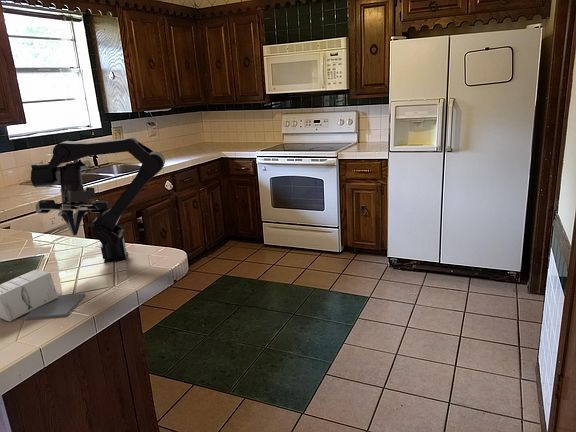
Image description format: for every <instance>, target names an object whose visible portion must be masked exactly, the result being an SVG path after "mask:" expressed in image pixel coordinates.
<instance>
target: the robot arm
mask: <svg viewBox="0 0 576 432" xmlns="http://www.w3.org/2000/svg"><path fill="white" fill-rule="evenodd" d="M117 153H118V154H119V153H129V154H130V155H131V156H133V158H135V160H137V161H139V162H140V163H141V166H140V167H139V170H138V172H137V173H136V176H135V177H134V178H133V179H132V181H130V184H129V185H128V186H127V187H126V188H125V190H124V191H123V193H121V195H120V197H119V198H118V199H117V200H116V202H115V203H114V204H113V205H112V206H111V207H110V208H109V203H108V201H107V200H102V199H99V200H92V201H91V202H89V199H95V197H96V190H95V187H92V186H91V187H90V186H89V187H86V188H85V189H84V184H82V183H83V181H82V179H83V178H82V170H88V169H89V166H88V165H86V163H84V162H83V161H82V160H81V159H84V158H86V157H90V156H101V155H108V154H109V155H110V154H117ZM77 160H78V161H77ZM73 161H75V162H73ZM63 164H65V165H63ZM165 164H166V158H165V156H164V155H163V154H162V153H161V152H159V151H154V150H153V149H151V148H149V147H147V146H146V145H144V144H143V143H141V142H140V141H139V140H137V139H136V138H135V137H128V138H121V139H113V140H112V139H111V140H103V141H94V142H84V141H76V140H75V141H74V140H73V141H72V140H65V141H62V142H60V143H57V144H55V146H54V147H53V149H52V157H51V159H50V161H49V162H48V163H41V164H40V163H34V164H31V166H30V168H31V171H30V181H31V184H32V186H33V187H34V188H42V187H44V188H45V187H52V186H57V185H58V183H59V182H60V196H61V203H59V202H58V203H57V202H55V201H56V200H54V199H40V200H39V201H37V203H36V204H35V213H36V214H48V213H50V212H51V210H53V211H55V210H56V211H57V210H58V212H59V213H57V216H58V217H60V216H61V217H62V219H63V220H64V222H65V224H66V225H67V226H68V229H69V231H70V232H71V234H72V236H77V235H78V232H79V230H80V225H81V222H82V219H83V218H84V216H85V215H87V214H88V213H89V212H91V213H92V214H94V213H95V214H98V215H97V216H96V217H95V219H94V220H93V221H92V222H91V224H92V227H91V234H92V235H93V237H94V238H96V239H98V240H99V241H98V242H100V244H101V246H100V251H101V255H102V260H103V262H104V263H112V262H119V261H125V260H127V257H128V254H129V252H128V251H127V247H126V242H125V237H124V236H123V235H124V230H125V229H124V228H123V227H121V226H120V225H118V222H119V220H120V218H121V216H122V215H123V213H124V212H125V211H126V210H127V208H128V207H129V206H130V205H131V203H132V202H133V200H134V199H135V198H136V197H137V195H138V194H140V193H139V192H140V191H142V189H143V188H144V186H145V185H146V184H147V183H148V182H149V181H150V180H151V179H153V178H154V177H155V176H157V174H158V173H159V172H161V170H162V169H164V168H163V167H164V166H165ZM88 202H89V203H88ZM74 211H75V212H74Z"/></svg>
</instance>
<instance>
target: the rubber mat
mask: <svg viewBox="0 0 576 432" xmlns="http://www.w3.org/2000/svg"><path fill="white" fill-rule="evenodd" d="M58 296H59V297H58V298H56V299H54V300H52V301H50V302H48V303H46V304H44V305H42V306H40V307H38V308H36V309H34V310H32V311H30V312H28V314H27V315H26V316H25V317H24V320H26V321H27V320H38V319H51V318H62V317H63V318H64V317H68V315H70V314H71V313H72V311H73V310H74V309H75V308H76V307H77V305H79V303H80V302H81V301H82V300H83V299H84V298H85V296H86V293H84V292H82V293H71V294H62V295H60V294H58Z"/></svg>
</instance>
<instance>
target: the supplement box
mask: <svg viewBox="0 0 576 432" xmlns="http://www.w3.org/2000/svg"><path fill="white" fill-rule="evenodd" d="M58 295H59V294H58V292H57V288H56V286H55V283H54V281H53V278H52V273H51V272H49V271H47V270H42V269H38V268H36V269H33V270H31V271H29V272H26V273H24V274H22V275H19V276H16V277H15V278H12V279H10V280H8V281H5V282H3V283H1V284H0V319H2V320H4V321H7V322H12V321H14V320H15V319H17V318H19V317H22V316H24V315H26V314H27V313H28V314H29V313H30V312H31V311H32V310H34V309H36V308H38V307H40V306H42V305H44V304H46V303H48V302H50V301H52V300H54V299H56V298H58V297H59V296H58Z"/></svg>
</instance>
